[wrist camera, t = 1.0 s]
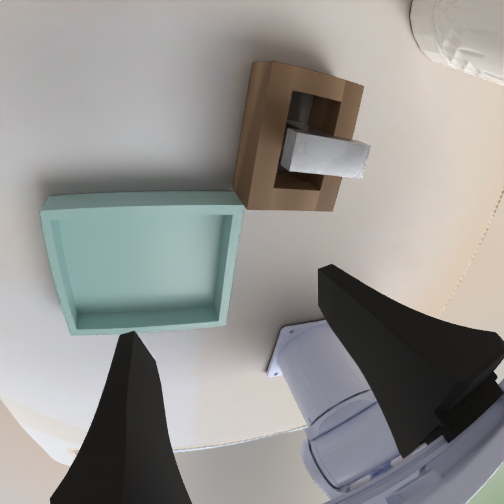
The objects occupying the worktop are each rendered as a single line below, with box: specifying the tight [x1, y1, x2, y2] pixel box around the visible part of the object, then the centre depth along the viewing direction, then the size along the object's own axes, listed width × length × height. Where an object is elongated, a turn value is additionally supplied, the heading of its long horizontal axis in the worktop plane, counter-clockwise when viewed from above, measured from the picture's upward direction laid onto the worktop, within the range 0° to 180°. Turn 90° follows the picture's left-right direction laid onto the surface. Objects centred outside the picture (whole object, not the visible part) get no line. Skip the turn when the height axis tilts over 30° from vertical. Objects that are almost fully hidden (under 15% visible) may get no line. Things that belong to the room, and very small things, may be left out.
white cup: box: [410, 0, 504, 86], centre depth 12 cm, size 8×8×10 cm
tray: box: [40, 191, 244, 335], centre depth 19 cm, size 12×10×2 cm
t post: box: [281, 120, 370, 179], centre depth 16 cm, size 4×2×6 cm, turn 80°
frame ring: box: [233, 61, 364, 212], centre depth 17 cm, size 6×8×3 cm
